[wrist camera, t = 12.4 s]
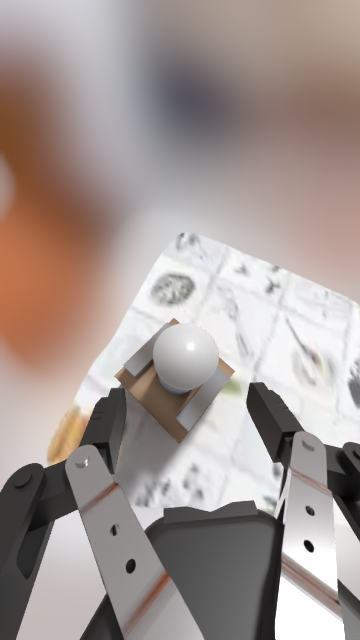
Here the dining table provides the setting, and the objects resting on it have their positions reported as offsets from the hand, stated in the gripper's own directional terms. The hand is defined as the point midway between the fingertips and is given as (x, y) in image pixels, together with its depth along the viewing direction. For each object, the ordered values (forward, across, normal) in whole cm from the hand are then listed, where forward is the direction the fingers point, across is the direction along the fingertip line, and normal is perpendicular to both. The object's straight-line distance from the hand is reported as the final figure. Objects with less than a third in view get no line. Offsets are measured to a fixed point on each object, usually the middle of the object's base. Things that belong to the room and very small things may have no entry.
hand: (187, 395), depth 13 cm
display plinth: (+13, 0, +9) cm, 16 cm away
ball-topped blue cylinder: (+9, 0, +6) cm, 11 cm away
